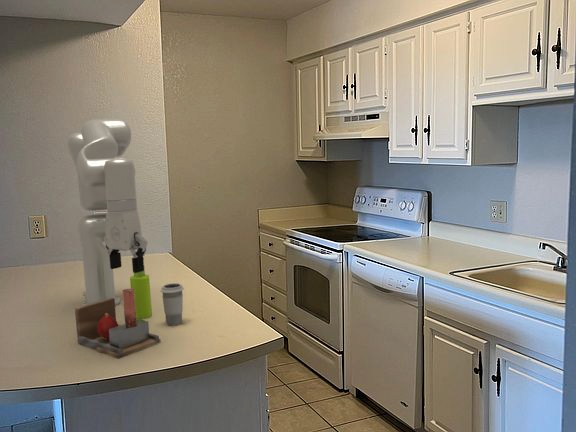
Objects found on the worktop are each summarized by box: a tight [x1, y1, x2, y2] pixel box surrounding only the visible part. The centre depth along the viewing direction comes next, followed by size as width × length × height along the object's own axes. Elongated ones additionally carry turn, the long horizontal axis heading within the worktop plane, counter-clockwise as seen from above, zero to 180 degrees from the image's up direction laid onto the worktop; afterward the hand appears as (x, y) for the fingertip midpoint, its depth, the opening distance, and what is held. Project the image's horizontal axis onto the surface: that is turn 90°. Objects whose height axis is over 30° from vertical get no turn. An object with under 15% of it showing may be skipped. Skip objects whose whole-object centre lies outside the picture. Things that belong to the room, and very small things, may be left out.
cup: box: [160, 282, 185, 327], centre depth 172 cm, size 7×7×12 cm
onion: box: [97, 313, 119, 341], centre depth 159 cm, size 6×6×8 cm
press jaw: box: [109, 288, 150, 349], centre depth 153 cm, size 5×10×15 cm, turn 142°
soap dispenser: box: [129, 257, 153, 320], centre depth 179 cm, size 6×7×20 cm
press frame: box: [74, 298, 162, 359], centre depth 157 cm, size 20×14×10 cm
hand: (127, 269), depth 150 cm, fingers open, 9 cm apart
